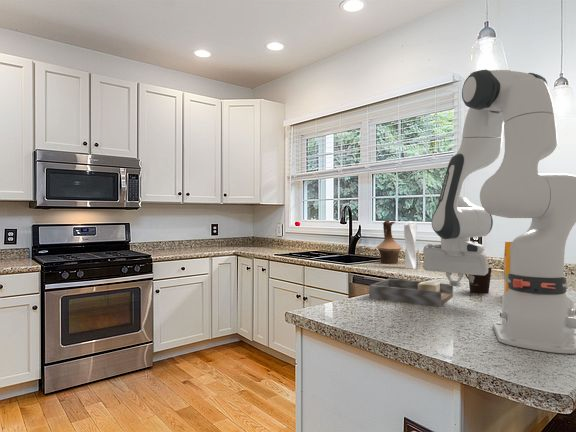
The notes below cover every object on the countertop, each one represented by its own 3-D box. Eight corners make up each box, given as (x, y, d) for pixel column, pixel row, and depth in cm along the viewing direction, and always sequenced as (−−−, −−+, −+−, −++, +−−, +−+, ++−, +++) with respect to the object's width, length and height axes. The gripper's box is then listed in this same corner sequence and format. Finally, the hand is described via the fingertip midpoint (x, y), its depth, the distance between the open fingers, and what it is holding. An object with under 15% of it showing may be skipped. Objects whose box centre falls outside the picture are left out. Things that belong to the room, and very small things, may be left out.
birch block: (439, 294, 134) (439, 283, 134) (435, 297, 129) (435, 285, 129) (422, 292, 138) (422, 281, 138) (417, 295, 133) (417, 283, 133)
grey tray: (452, 296, 138) (452, 284, 139) (440, 306, 122) (440, 292, 122) (388, 289, 152) (388, 278, 152) (369, 298, 135) (369, 285, 135)
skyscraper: (416, 270, 216) (416, 220, 217) (402, 269, 221) (402, 220, 221) (420, 268, 224) (420, 220, 224) (406, 267, 228) (406, 220, 228)
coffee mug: (495, 294, 143) (495, 267, 143) (470, 293, 144) (470, 267, 144) (485, 289, 154) (485, 264, 154) (462, 288, 156) (462, 263, 156)
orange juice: (535, 301, 131) (535, 243, 131) (506, 299, 135) (505, 242, 135) (531, 297, 138) (531, 241, 138) (503, 295, 142) (503, 241, 142)
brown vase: (371, 262, 257) (371, 220, 257) (395, 261, 260) (395, 220, 260) (382, 264, 240) (382, 220, 240) (407, 264, 243) (407, 220, 243)
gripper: (420, 244, 133) (420, 284, 133) (486, 247, 121) (486, 291, 121) (425, 243, 138) (425, 281, 138) (489, 246, 126) (489, 288, 126)
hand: (454, 286), depth 129 cm, fingers closed
